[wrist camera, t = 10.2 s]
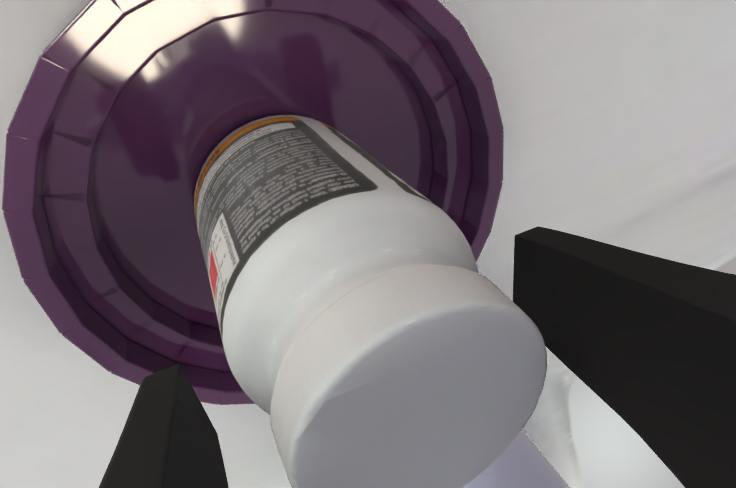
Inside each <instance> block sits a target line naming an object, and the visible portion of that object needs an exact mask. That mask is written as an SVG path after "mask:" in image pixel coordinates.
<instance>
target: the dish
mask: <svg viewBox="0 0 736 488" xmlns="http://www.w3.org/2000/svg"><path fill="white" fill-rule="evenodd" d="M276 115H297V116H303V117H308V118H312V119H315V120H317V121H320V122H322V123H325V124H327V125H329V126H330V127H332V128H334V129H336V130H337V131H339V132H340V133H342V134H343V135H345V136H346V137H347V138H349V139H350V140H351V141H353V142H354V143H355V144H357V145H358V146H359V147H360V148H362V149H363V150H364V151H366V152H367V153H368V154H370V155H371V156H372V157H373V158H375V159H376V160H377V161H378V162H380V163H381V164H382V165H384V166H385V167H386V168H387V169H388V170H390V171H391V172H392V173H394V174H395V175H396V176H398V177H399V178H400V179H402V180H403V181H405V182H406V183H407V184H408V185H410V186H411V187H412V188H414V189H415V190H417V191H418V192H419V193H421V194H422V195H423V196H425V197H426V198H427V199H429V200H430V201H431V202H432V203H433V204H435V205H437V206H438V207H439V208H441V209H442V210H443V211H444V212H445V213H446V214H447V215H448V216H449V217H450V218H451V219H452V220H453V221H454V222H455V223H456V225H457V226H458V228H459V229H460V230H461V232H462V233H463V234H464V236H465V238H466V240H467V241H468V243H469V245H470V247H471V250H472V253H473V255H474V258H475V261H476V262H477V259H478V257H479V255H480V253H481V251H482V249H483V247H484V245H485V243H486V240H487V238H488V236H489V234H490V232H491V228H492V225H493V220H494V216H495V212H496V208H497V204H498V200H499V196H500V191H501V187H502V181H503V124H502V120H501V116H500V112H499V108H498V104H497V99H496V95H495V91H494V87H493V83H492V78H491V77H490V74H489V72H488V70H487V69H486V67H485V65H484V63H483V61H482V60H481V58H480V56H479V54H478V52H477V51H476V49H475V47H474V45H473V43H472V41H471V40H470V38H469V36H468V34H467V32H466V31H465V29H464V27H463V25H461V23H460V21H459V20H457V19H456V18H455V17H454V16H453V15H452V14H451V13H450V12H449V11H448V10H447V9H446V8H445V7H444V6H443V5H442V4H441V3H440V2H439V1H438V0H91V1H90V2H89V3H88V4H87V5H86V6H85V7H84V8H83V9H82V10H81V11H80V13H79V14H78V15H77V16H76V17H75V18H74V19H73V20H72V21H71V22H70V23H69V24H68V25H67V26H66V27H65V28H64V29H63V31H62V32H61V33H60V34H59V35H58V36H57V37H56V38H55V39H54V40H53V41H52V42H51V43H50V44H49V45H48V46H47V48H46V49H45V50H44V51H43V54H42V55H41V56H40V57H39V59H38V61H37V63H36V66H35V68H34V70H33V73H32V75H31V77H30V79H29V82H28V84H27V86H26V89H25V91H24V93H23V95H22V98H21V100H20V102H19V105H18V107H17V109H16V111H15V114H14V116H13V118H12V121H11V123H10V125H9V127H8V133H7V134H6V149H5V166H4V182H3V199H2V209H3V210H4V211H3V215H4V218H5V222H6V225H7V229H8V232H9V235H10V239H11V242H12V246H13V249H14V252H15V256H16V259H17V263H18V266H19V269H20V273H21V276H22V278H23V280H24V283H25V284H26V285H27V287H28V288H29V290H30V291H31V293H32V294H33V295H34V297H35V298H36V300H37V301H38V302H39V304H40V305H41V307H42V308H43V310H44V311H45V312H46V314H47V315H48V317H49V318H50V320H51V321H52V322H53V324H54V325H55V327H56V328H57V329H58V331H59V332H60V333H62V335H63V336H64V337H65V338H67V339H68V340H69V341H70V342H72V343H73V344H74V345H75V346H77V347H78V348H79V349H81V350H82V351H83V352H84V353H86V354H87V355H88V356H90V357H91V358H92V359H93V360H95V361H96V362H97V363H99V364H100V365H101V366H102V367H104V368H105V369H106V370H107V371H111V373H112V374H115V375H117V376H119V377H122V378H124V379H126V380H129V381H131V382H134V383H136V384H138V385H141V383H142V381H143V379H144V378H145V377H146V376H149V375H152V374H154V373H157V372H159V371H162V370H165V369H167V368H170V367H173V366H175V365H178V364H180V365H181V367H182V369H183V371H184V373H185V375H186V376H187V378H188V380H189V382H190V384H191V386H192V388H193V389H194V391H195V393H196V395H197V397H198V399H199V401H200V402H205V403H210V404H216V405H217V404H220V405H230V404H255V403H254V402H253V401H252V400H251V399H250V398H249V397H248V395H247V394H246V393H245V392H244V391H243V389H242V388H241V386H240V385H239V383H238V382H237V380H236V379H235V377H234V375H233V373H232V371H231V369H230V367H229V364H228V362H227V359H226V356H225V352H224V348H223V343H222V338H221V334H220V329H219V324H218V319H217V314H216V309H215V304H214V299H213V294H212V290H211V286H210V281H209V276H208V272H207V269H206V265H205V260H204V256H203V252H202V248H201V244H200V239H199V235H198V230H197V224H196V218H195V212H194V194H195V188H196V183H197V180H198V176H199V173H200V171H201V168H202V166H203V165H204V163H205V161H206V159H207V158H208V156H209V155H210V153H211V152H212V151H213V150H214V148H215V147H216V146H217V145H218V144H219V143H220V142H221V141H222V140H223V139H224V138H225V137H226V136H228V135H229V134H230V133H231V132H233V131H234V130H236V129H238V128H239V127H241V126H243V125H245V124H247V123H249V122H251V121H255V120H258V119H261V118H265V117H268V116H276Z"/></svg>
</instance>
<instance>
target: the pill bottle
mask: <svg viewBox="0 0 736 488" xmlns="http://www.w3.org/2000/svg"><path fill="white" fill-rule="evenodd" d="M194 212H195V218H196V224H197V230H198V235H199V239H200V244H201V248H202V252H203V256H204V260H205V265H206V269H207V272H208V276H209V281H210V286H211V290H212V294H213V299H214V304H215V309H216V314H217V319H218V324H219V329H220V334H221V338H222V343H223V348H224V352H225V356H226V359H227V362H228V364H229V367H230V369H231V371H232V373H233V375H234V377H235V379H236V380H237V382H238V383H239V385H240V386H241V388H242V389H243V391H244V392H245V393H246V394H247V395H248V397H249V398H250V399H251V400H252V401H253V402H254V403H255V404H257V405H258V406H259V407H260V408H261V409H263V410H264V411H265V412H267V413H268V414H270V415H271V427H272V432H273V435H274V438H275V441H276V444H277V448H278V451H279V454H280V456H281V459H282V462H283V465H284V468H285V470H286V473H287V476H288V479H289V482H290V484H291V486H292V488H461V487H463V486H464V485H466V484H467V483H469V482H470V481H472V480H473V479H474V478H475V477H477V476H478V475H479V474H480V473H481V472H482V471H484V470H485V469H486V468H487V467H489V466H490V465H491V464H492V463H493V462H494V461H495V460H496V459H497V458H498V457H499V456H500V455H501V454H502V453H503V452H504V451H505V450H506V448H507V447H508V446H509V445H510V444H511V443H512V441H513V440H514V439H515V438H516V436H517V435H518V433H519V432H520V431H521V429H522V428H523V427H524V425H525V424H526V422H527V421H528V419H529V418H530V416H531V415H532V413H533V411H534V409H535V407H536V405H537V403H538V400H539V397H540V395H541V392H542V390H543V386H544V381H545V377H546V370H547V353H546V347H545V343H544V340H543V337H542V335H541V333H540V331H539V329H538V327H537V326H536V325H535V324H534V322H533V321H532V320H531V319H530V318H529V317H528V316H527V315H526V314H525V313H524V312H523V311H522V310H521V309H520V308H519V307H518V306H517V305H516V304H515V303H514V302H513V301H511V300H510V299H509V298H508V297H507V296H506V295H505V294H504V293H503V292H502V291H501V290H500V289H499V288H498V287H497V286H496V285H495V284H493V283H492V282H491V281H490V280H488V279H487V278H486V277H484V276H482V275H481V274H479V273H478V269H477V265H476V261H475V258H474V255H473V253H472V250H471V247H470V245H469V243H468V241H467V240H466V238H465V236H464V234H463V233H462V232H461V230H460V229H459V228H458V226H457V225H456V223H455V222H454V221H453V220H452V219H451V218H450V217H449V216H448V215H447V214H446V213H445V212H444V211H443V210H442V209H441V208H439V207H438V206H437V205H435V204H433V203H432V202H431V201H430V200H429V199H427V198H426V197H425V196H423V195H422V194H421V193H419V192H418V191H417V190H415V189H414V188H412V187H411V186H410V185H408V184H407V183H406V182H405V181H403V180H402V179H400V178H399V177H398V176H396V175H395V174H394V173H392V172H391V171H390V170H388V169H387V168H386V167H385V166H384V165H382V164H381V163H380V162H378V161H377V160H376V159H375V158H373V157H372V156H371V155H370V154H368V153H367V152H366V151H364V150H363V149H362V148H360V147H359V146H358V145H357V144H355V143H354V142H353V141H351V140H350V139H349V138H347V137H346V136H345V135H343V134H342V133H340V132H339V131H337V130H336V129H334V128H332V127H330V126H329V125H327V124H325V123H322V122H320V121H317V120H315V119H312V118H308V117H303V116H297V115H276V116H268V117H265V118H261V119H258V120H255V121H251V122H249V123H247V124H245V125H243V126H241V127H239V128H238V129H236V130H234V131H233V132H231V133H230V134H229V135H228V136H226V137H225V138H224V139H223V140H222V141H221V142H220V143H219V144H218V145H217V146H216V147H215V148H214V150H213V151H212V152H211V153H210V155H209V156H208V158H207V159H206V161H205V163H204V165H203V166H202V168H201V171H200V173H199V176H198V180H197V183H196V188H195V194H194Z"/></svg>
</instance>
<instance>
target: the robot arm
mask: <svg viewBox="0 0 736 488" xmlns="http://www.w3.org/2000/svg"><path fill="white" fill-rule="evenodd" d="M513 302H514V303H515V304H516V305H517V306H518V307H519V308H520V309H521V310H522V311H523V312H524V313H525V314H526V315H527V316H528V317H529V318H530V319H531V320H532V321H533V322H534V324H535V325H536V326H537V327H538V329H539V331H540V333H541V335H542V337H543V340H544V343H545V346H546V347H547V348H548V349H549V350H550V351H551V352H552V353H553V354H554V355H555V356H556V357H558V358H559V359H560V360H561V361H562V362H563V363H564V364H565V365H566V366H567V367H568V368H569V369H570V370H571V371H572V372H573V373H574V374H576V375H577V376H578V377H579V378H580V379H581V380H582V381H583V382H584V383H585V384H586V385H587V386H589V387H590V388H591V389H592V390H593V391H594V392H595V393H596V394H597V395H598V396H599V397H600V398H601V399H602V400H603V401H604V402H606V403H607V404H608V405H609V406H610V407H611V408H612V409H613V410H615V412H616V413H618V415H620V416H621V417H622V418H623V419H624V420H625V421H626V422H627V423H628V424H629V425H630V427H631V428H633V430H635V432H637V434H639V436H640V437H641V438H642V439H643V440H644V441H645V442H646V443H647V445H648V446H649V447H650V448H651V449H652V450H653V451H654V452H655V454H656V455H657V456H658V457H659V458H660V459H661V460H662V461H663V463H664V464H665V465H666V466H667V467H668V468H669V469H670V470H671V471H672V473H673V474H674V475H675V476H676V477H677V478H678V480H679V481H680V482H681V483H682V484H683V486H684V487H685V488H736V275H734V274H728V273H723V272H719V271H714V270H710V269H705V268H701V267H696V266H692V265H688V264H683V263H679V262H675V261H671V260H667V259H663V258H659V257H655V256H651V255H647V254H643V253H639V252H636V251H632V250H628V249H624V248H621V247H617V246H613V245H610V244H606V243H602V242H599V241H595V240H591V239H588V238H584V237H580V236H576V235H572V234H569V233H565V232H561V231H557V230H552V229H547V228H542V227H536V228H533V229H530V230H528V231H525V232H523V233H520V234H517V235H515V247H514V281H513ZM99 488H228V482H227V477H226V473H225V468H224V463H223V458H222V454H221V449H220V445H219V440H218V436H217V432H216V431H215V429H214V427H213V425H212V423H211V421H210V419H209V417H208V416H207V414H206V412H205V410H204V408H203V406H202V404H201V403H200V401H199V399H198V397H197V395H196V393H195V391H194V389H193V388H192V386H191V384H190V382H189V380H188V378H187V376H186V375H185V373H184V371H183V369H182V367H181V365H180V364H178V365H175V366H173V367H170V368H167V369H165V370H162V371H159V372H157V373H154V374H152V375H149V376H146V377H145V378H144V379H143V381H142V383H141V385H140V388H139V390H138V393H137V395H136V398H135V401H134V403H133V406H132V409H131V411H130V414H129V416H128V419H127V421H126V424H125V427H124V429H123V432H122V434H121V437H120V439H119V441H118V444H117V446H116V449H115V451H114V454H113V456H112V458H111V461H110V463H109V465H108V468H107V470H106V472H105V475H104V477H103V479H102V481H101V484H100V486H99ZM461 488H570V487H569V486H568V485H567V483H566V482H565V481H564V480H563V478H562V477H561V476H560V475H559V474H558V472H557V471H556V470H555V469H554V468H553V466H552V465H551V464H550V463H549V462H548V460H547V459H546V458H545V457H544V456H543V454H542V453H541V452H540V451H539V450H538V448H537V447H536V446H535V445H534V444H533V442H532V441H531V440H530V439H529V438H528V436H527V435H526V434H525V433H524V432H523V430H522V429H521V431H520V432H519V433H518V435H517V436H516V438H515V439H514V440H513V441H512V443H511V444H510V445H509V446H508V447H507V448H506V450H505V451H504V452H503V453H502V454H501V455H500V456H499V457H498V458H497V459H496V460H495V461H494V462H493V463H492V464H491V465H490V466H489V467H487V468H486V469H485V470H484V471H482V472H481V473H480V474H479V475H478V476H477V477H475V478H474V479H473V480H472V481H470V482H469V483H467V484H466V485H464V486H463V487H461Z"/></svg>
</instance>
